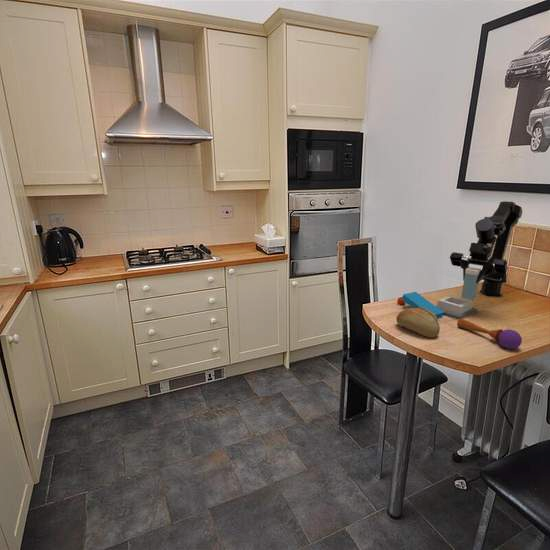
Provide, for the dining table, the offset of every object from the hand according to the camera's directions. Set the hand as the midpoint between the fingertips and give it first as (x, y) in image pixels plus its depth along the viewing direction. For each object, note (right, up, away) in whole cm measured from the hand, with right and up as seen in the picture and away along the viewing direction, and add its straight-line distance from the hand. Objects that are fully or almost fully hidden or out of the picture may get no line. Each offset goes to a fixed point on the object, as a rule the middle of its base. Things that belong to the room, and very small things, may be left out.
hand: (470, 281), depth 132 cm
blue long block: (-16, -12, +9) cm, 22 cm away
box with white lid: (+1, -6, +3) cm, 7 cm away
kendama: (-2, -19, -14) cm, 24 cm away
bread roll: (-23, -17, -9) cm, 30 cm away
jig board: (-2, -12, +8) cm, 14 cm away
